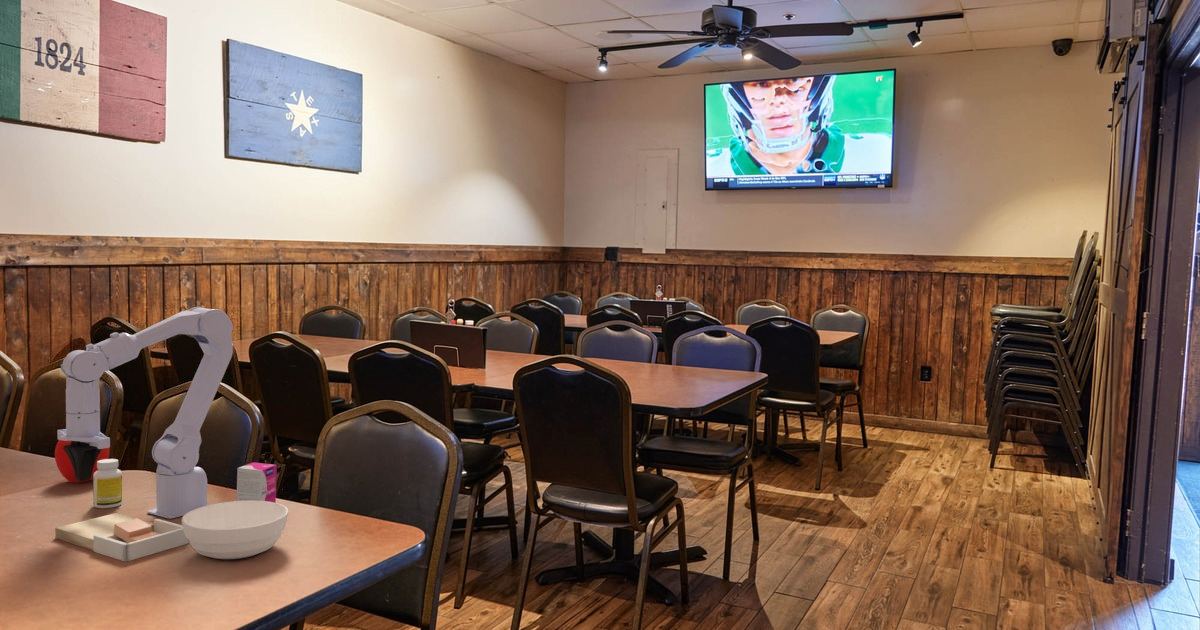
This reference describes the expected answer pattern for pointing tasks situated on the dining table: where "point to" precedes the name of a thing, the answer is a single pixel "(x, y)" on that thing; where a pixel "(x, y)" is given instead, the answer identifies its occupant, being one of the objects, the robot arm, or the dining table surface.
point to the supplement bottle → (107, 484)
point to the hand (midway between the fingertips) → (83, 479)
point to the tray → (142, 542)
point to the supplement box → (256, 482)
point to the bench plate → (92, 530)
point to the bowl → (235, 528)
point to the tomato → (65, 463)
